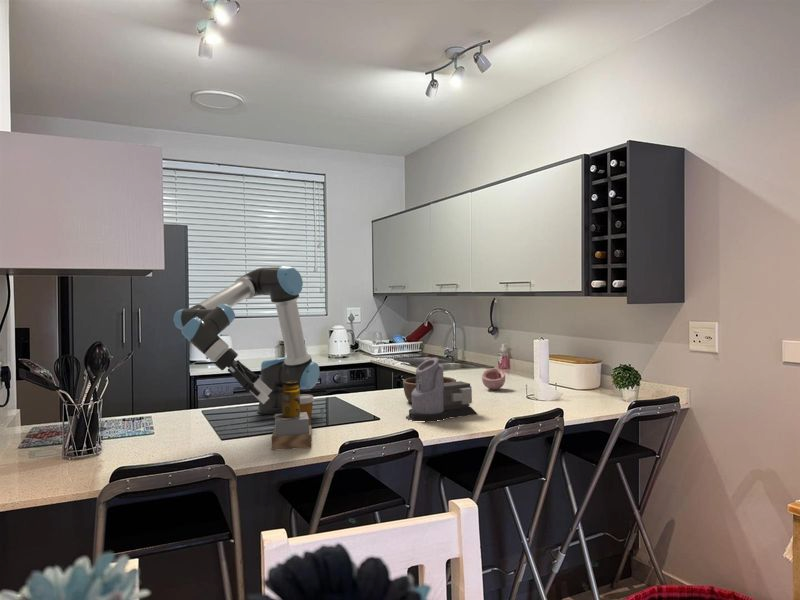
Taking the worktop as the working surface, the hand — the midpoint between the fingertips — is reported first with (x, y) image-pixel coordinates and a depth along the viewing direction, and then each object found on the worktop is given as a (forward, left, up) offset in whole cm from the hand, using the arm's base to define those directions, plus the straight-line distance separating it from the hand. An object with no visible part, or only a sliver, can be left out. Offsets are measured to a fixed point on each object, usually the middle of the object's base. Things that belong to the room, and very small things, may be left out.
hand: (268, 397), depth 189 cm
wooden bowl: (+23, +88, -17) cm, 92 cm away
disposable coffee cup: (-4, +25, -17) cm, 30 cm away
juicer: (+38, +63, -17) cm, 75 cm away
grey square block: (+7, +4, -12) cm, 14 cm away
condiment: (+6, +3, -7) cm, 10 cm away
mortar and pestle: (+42, +128, -17) cm, 135 cm away
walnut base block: (+7, +4, -17) cm, 19 cm away
